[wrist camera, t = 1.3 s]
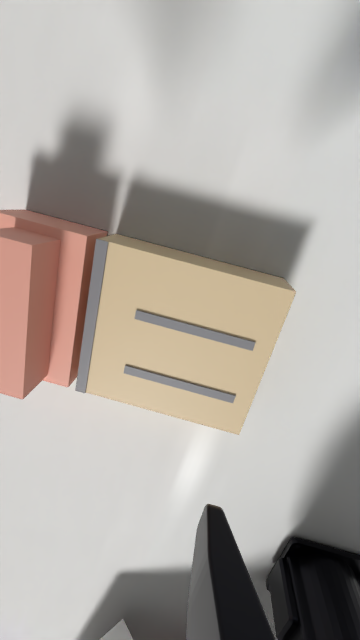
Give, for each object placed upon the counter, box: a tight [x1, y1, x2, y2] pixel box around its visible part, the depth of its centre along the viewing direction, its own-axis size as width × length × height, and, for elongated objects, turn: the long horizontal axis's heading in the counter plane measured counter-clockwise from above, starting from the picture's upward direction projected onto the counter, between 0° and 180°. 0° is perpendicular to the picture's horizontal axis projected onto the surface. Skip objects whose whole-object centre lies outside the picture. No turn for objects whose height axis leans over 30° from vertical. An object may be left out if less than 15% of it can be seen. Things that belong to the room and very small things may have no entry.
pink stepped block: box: [0, 210, 108, 399], centre depth 17 cm, size 5×9×6 cm, turn 166°
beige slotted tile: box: [75, 234, 296, 435], centre depth 18 cm, size 10×9×3 cm
